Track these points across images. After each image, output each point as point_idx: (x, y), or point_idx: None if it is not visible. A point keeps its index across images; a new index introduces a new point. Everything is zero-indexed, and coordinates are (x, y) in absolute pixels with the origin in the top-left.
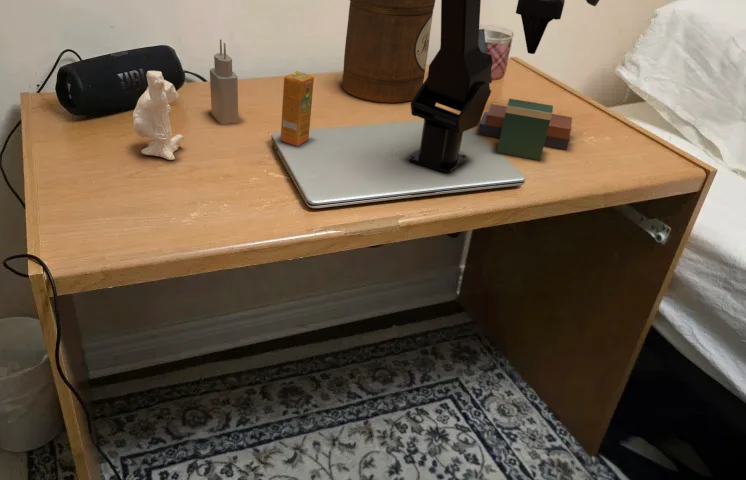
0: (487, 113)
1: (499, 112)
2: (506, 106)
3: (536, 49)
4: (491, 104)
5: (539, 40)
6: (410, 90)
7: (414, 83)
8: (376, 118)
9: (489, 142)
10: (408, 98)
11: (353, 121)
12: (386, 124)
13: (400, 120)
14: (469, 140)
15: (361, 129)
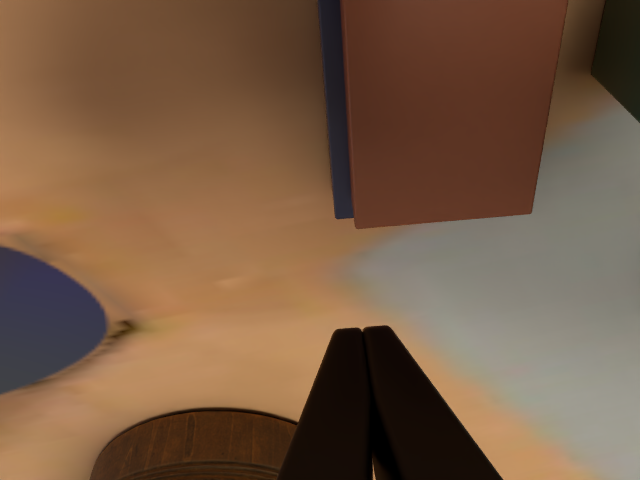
0: (510, 215)
1: (470, 172)
2: (357, 160)
3: (407, 354)
4: (366, 225)
5: (474, 445)
6: (282, 452)
7: (267, 470)
8: (480, 435)
9: (571, 116)
10: (286, 428)
11: (529, 462)
12: (518, 408)
13: (466, 393)
14: (574, 189)
15: (583, 437)
